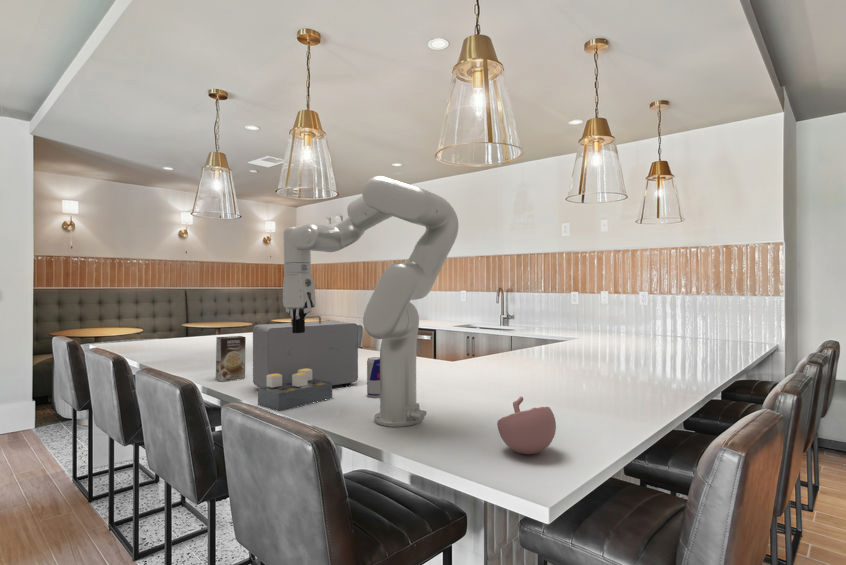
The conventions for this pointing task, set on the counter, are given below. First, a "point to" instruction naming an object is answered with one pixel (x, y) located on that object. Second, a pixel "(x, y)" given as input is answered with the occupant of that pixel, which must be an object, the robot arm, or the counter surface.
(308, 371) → the switch
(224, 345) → the coffee box
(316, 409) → the counter surface
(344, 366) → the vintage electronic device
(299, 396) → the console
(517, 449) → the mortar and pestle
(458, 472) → the counter surface
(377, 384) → the energy drink
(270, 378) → the switch
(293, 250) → the robot arm
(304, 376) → the switch
